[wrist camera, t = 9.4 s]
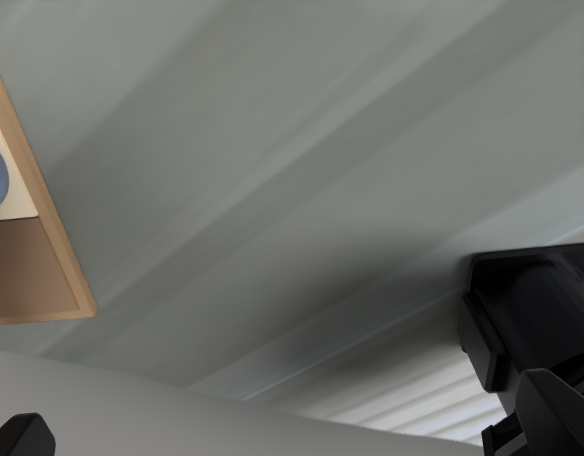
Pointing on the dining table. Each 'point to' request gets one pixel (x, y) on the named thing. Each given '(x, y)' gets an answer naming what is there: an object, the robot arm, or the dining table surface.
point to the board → (34, 240)
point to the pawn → (3, 179)
